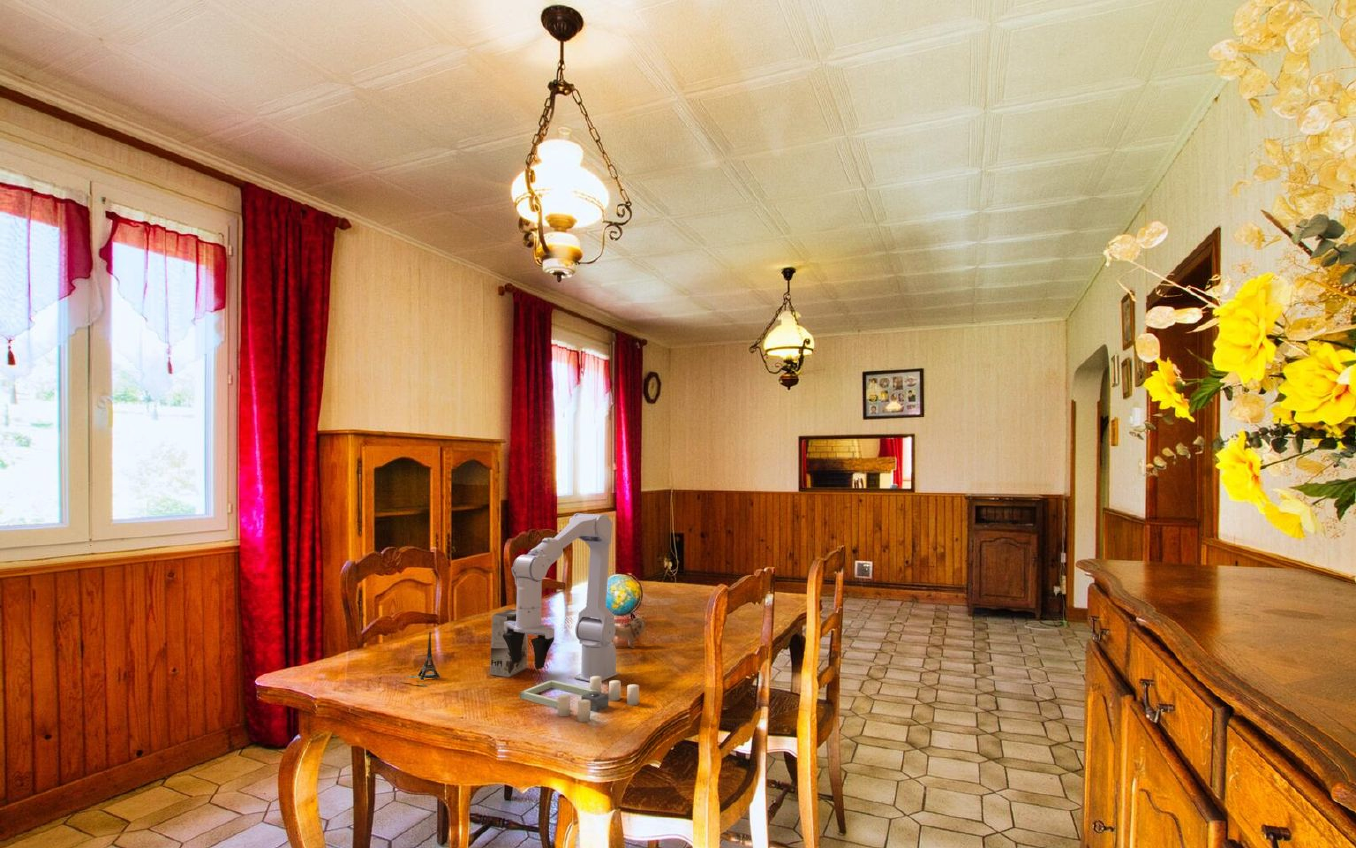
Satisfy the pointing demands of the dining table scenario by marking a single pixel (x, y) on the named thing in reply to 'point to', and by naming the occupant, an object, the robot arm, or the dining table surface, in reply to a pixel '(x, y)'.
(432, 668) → the eiffel tower figurine
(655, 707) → the dining table surface
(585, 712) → the posts
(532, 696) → the frame
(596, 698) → the push button box
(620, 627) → the lion figurine
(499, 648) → the coffee box
